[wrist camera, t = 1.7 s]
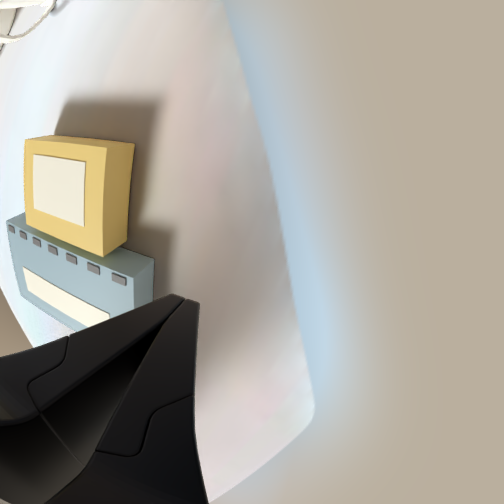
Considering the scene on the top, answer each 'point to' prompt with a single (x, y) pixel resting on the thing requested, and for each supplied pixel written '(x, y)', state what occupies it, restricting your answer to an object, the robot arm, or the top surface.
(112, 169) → the yellow box
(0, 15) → the mug
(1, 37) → the cup
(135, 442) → the robot arm
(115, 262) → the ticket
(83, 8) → the top surface
